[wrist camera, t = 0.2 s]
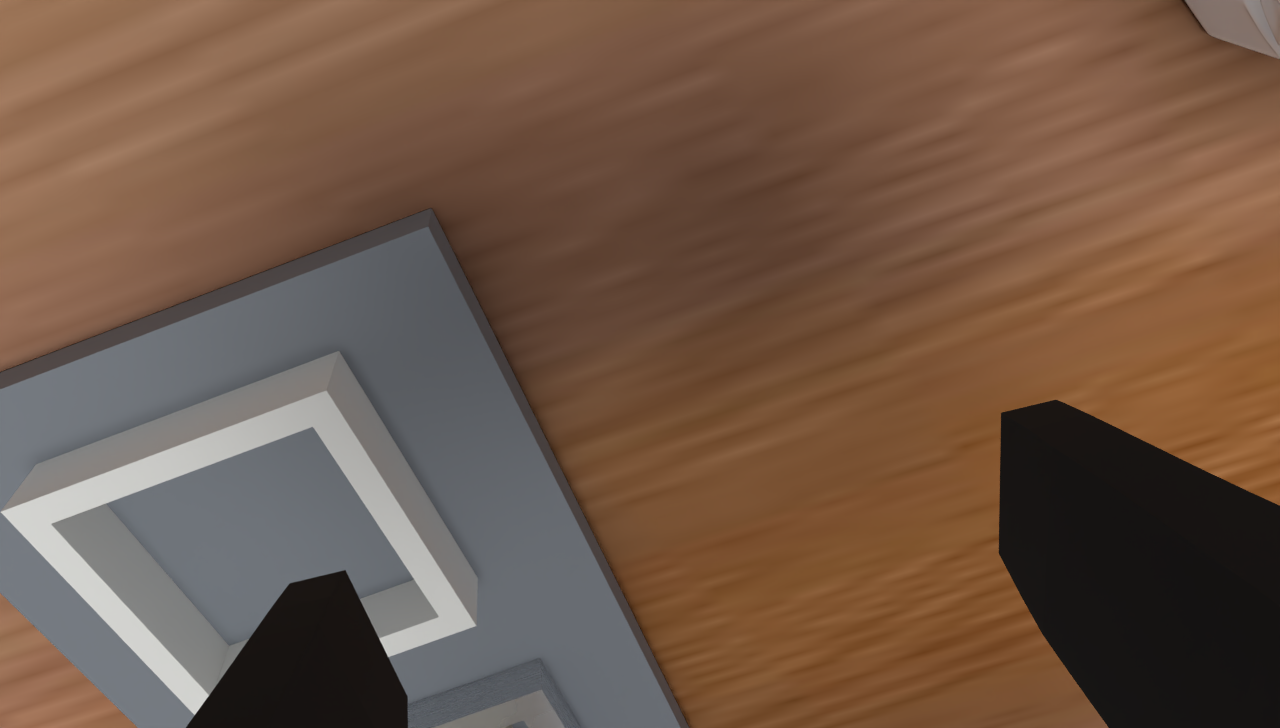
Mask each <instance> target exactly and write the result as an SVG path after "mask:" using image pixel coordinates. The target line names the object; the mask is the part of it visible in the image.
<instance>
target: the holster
mask: <svg viewBox="0 0 1280 728" xmlns="http://www.w3.org/2000/svg"><path fill="white" fill-rule="evenodd" d="M523 720H524V722H525V723H526V725H527V726H528V728H582V727H581V726H580V724H579V722H578V721H577V719H576V717H575V716H574V714H573V712H572V711H571V709H570V707H569V706H568V704H567V702H566V701H565V699H564V697H563V696H562V694H561V692H560V690H559V689H558V687H557V685H556V684H555V682H554V680H553V679H552V677H551V675H550V674H549V672H548V670H547V669H546V667H545V665H544V664H543V662H542V660H541V659H540V658H538V659H535V660H532V661H529V662H527V663H524V664H521V665H518V666H515V667H512V668H510V669H507V670H504V671H501V672H498V673H495V674H492V675H490V676H487V677H484V678H481V679H478V680H475V681H473V682H470V683H467V684H464V685H461V686H458V687H455V688H453V689H450V690H447V691H444V692H441V693H438V694H435V695H433V696H430V697H427V698H424V699H421V700H418V701H416V702H413V703H410V704H408V728H503V727H506V726H509V725H512V724H514V723H517V722H520V721H523Z"/></svg>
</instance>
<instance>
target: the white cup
mask: <svg viewBox="0 0 1280 728" xmlns="http://www.w3.org/2000/svg"><path fill="white" fill-rule="evenodd" d="M1184 1H1185V2H1186V3H1187V5H1188V6H1189V8H1190V9H1191V11H1192V12H1193V13H1194V15H1195V16H1196V18H1197V19H1198V21H1199V22H1200V24H1201V25H1202V26H1203V28H1204V29H1205V31H1206V32H1207V33H1208V34H1209V35H1210V36H1212V37H1215V38H1217V39H1220V40H1223V41H1226V42H1229V43H1232V44H1235V45H1238V46H1241V47H1244V48H1247V49H1250V50H1253V51H1256V52H1259V53H1262V54H1265V55H1268V56H1271V57H1273V58H1276V59H1279V60H1280V0H1184Z"/></svg>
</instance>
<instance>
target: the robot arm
mask: <svg viewBox="0 0 1280 728" xmlns="http://www.w3.org/2000/svg"><path fill="white" fill-rule="evenodd" d="M999 554H1000V556H1001V558H1002V560H1003V562H1004V564H1005V566H1006V568H1007V570H1008V572H1009V573H1010V575H1011V577H1012V579H1013V581H1014V583H1015V585H1016V587H1017V589H1018V591H1019V593H1020V594H1021V596H1022V598H1023V600H1024V602H1025V604H1026V605H1027V607H1028V609H1029V611H1030V613H1031V614H1032V616H1033V618H1034V620H1035V621H1036V623H1037V625H1038V627H1039V629H1040V630H1041V632H1042V634H1043V635H1044V637H1045V638H1046V640H1047V641H1048V643H1049V644H1050V646H1051V647H1052V648H1053V650H1054V651H1055V653H1056V654H1057V656H1058V657H1059V658H1060V660H1061V661H1062V663H1063V664H1064V665H1065V667H1066V668H1067V670H1068V671H1069V673H1070V674H1071V675H1072V677H1073V678H1074V680H1075V681H1076V682H1077V684H1078V685H1079V687H1080V688H1081V689H1082V691H1083V692H1084V694H1085V695H1086V696H1087V698H1088V699H1089V701H1090V702H1091V703H1092V705H1093V706H1094V708H1095V709H1096V710H1097V712H1098V713H1099V715H1100V716H1101V717H1102V719H1103V720H1104V721H1105V723H1106V724H1107V726H1108V727H1109V728H1280V506H1279V505H1277V504H1275V503H1272V502H1270V501H1268V500H1266V499H1264V498H1262V497H1259V496H1257V495H1255V494H1253V493H1251V492H1248V491H1246V490H1244V489H1242V488H1240V487H1238V486H1236V485H1234V484H1231V483H1229V482H1227V481H1225V480H1223V479H1221V478H1219V477H1217V476H1215V475H1212V474H1210V473H1208V472H1206V471H1204V470H1202V469H1200V468H1198V467H1196V466H1194V465H1192V464H1190V463H1188V462H1185V461H1183V460H1181V459H1179V458H1177V457H1175V456H1173V455H1171V454H1169V453H1167V452H1165V451H1163V450H1161V449H1159V448H1157V447H1155V446H1153V445H1151V444H1149V443H1147V442H1145V441H1143V440H1141V439H1138V438H1136V437H1134V436H1132V435H1130V434H1128V433H1126V432H1124V431H1122V430H1120V429H1118V428H1116V427H1114V426H1112V425H1110V424H1108V423H1106V422H1104V421H1102V420H1100V419H1097V418H1095V417H1093V416H1091V415H1089V414H1087V413H1085V412H1083V411H1081V410H1078V409H1076V408H1074V407H1072V406H1069V405H1067V404H1065V403H1063V402H1060V401H1058V400H1053V401H1049V402H1044V403H1040V404H1036V405H1032V406H1028V407H1024V408H1019V409H1015V410H1011V411H1007V412H1003V413H1001V457H1000V517H999ZM186 728H408V696H407V694H406V692H405V690H404V688H403V686H402V684H401V682H400V680H399V678H398V676H397V674H396V672H395V670H394V668H393V666H392V664H391V662H390V660H389V658H388V656H387V654H386V651H385V649H384V647H383V645H382V643H381V641H380V639H379V637H378V635H377V633H376V631H375V629H374V627H373V625H372V623H371V621H370V619H369V617H368V615H367V613H366V611H365V609H364V607H363V605H362V603H361V601H360V599H359V597H358V595H357V592H356V590H355V588H354V586H353V584H352V582H351V580H350V578H349V576H348V574H347V572H346V570H343V571H339V572H335V573H331V574H327V575H322V576H318V577H314V578H310V579H306V580H301V581H297V582H293V583H289V585H288V586H287V587H286V589H285V590H284V591H283V593H282V594H281V595H280V597H279V598H278V599H277V601H276V602H275V603H274V605H273V606H272V607H271V609H270V610H269V612H268V613H267V614H266V616H265V617H264V619H263V620H262V621H261V623H260V624H259V626H258V627H257V628H256V630H255V631H254V633H253V634H252V636H251V637H250V638H249V640H248V641H247V643H246V644H245V645H244V647H243V648H242V650H241V651H240V653H239V654H238V655H237V657H236V658H235V660H234V661H233V663H232V664H231V665H230V667H229V668H228V670H227V671H226V672H225V674H224V675H223V677H222V678H221V680H220V681H219V682H218V684H217V685H216V687H215V688H214V689H213V691H212V692H211V693H210V695H209V696H208V698H207V699H206V700H205V702H204V703H203V704H202V706H201V707H200V709H199V710H198V711H197V713H196V714H195V715H194V717H193V718H192V720H191V721H190V722H189V724H188V725H187V726H186Z"/></svg>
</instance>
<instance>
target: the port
mask: <svg viewBox="0 0 1280 728" xmlns="http://www.w3.org/2000/svg"><path fill="white" fill-rule="evenodd" d="M311 427H313V428H314V429H315V431H316V432H317V434H318V435H319V437H320V438H321V440H322V441H323V443H324V444H325V446H326V447H327V449H328V450H329V452H330V453H331V455H332V456H333V458H334V459H335V461H336V462H337V464H338V465H339V467H340V468H341V470H342V471H343V473H344V474H345V476H346V477H347V479H348V480H349V482H350V483H351V485H352V486H353V488H354V489H355V491H356V492H357V494H358V495H359V497H360V498H361V500H362V501H363V503H364V504H365V506H366V507H367V509H368V510H369V512H370V513H371V515H372V516H373V518H374V520H375V521H376V523H377V524H378V526H379V527H380V529H381V530H382V532H383V533H384V535H385V536H386V538H387V539H388V541H389V542H390V544H391V545H392V547H393V548H394V550H395V551H396V553H397V554H398V556H399V557H400V559H401V560H402V562H403V563H404V565H405V566H406V568H407V569H408V571H409V572H410V574H411V575H412V577H413V578H414V580H411V581H409V582H406V583H403V584H400V585H398V586H395V587H392V588H389V589H386V590H384V591H381V592H378V593H375V594H372V595H370V596H367V597H364V598H361V599H360V601H361V603H362V605H363V607H364V609H365V611H366V613H367V615H368V617H369V619H370V621H371V623H372V625H373V627H374V629H375V631H376V633H377V635H378V637H379V639H380V641H381V643H382V645H383V647H384V649H385V651H386V654H387V656H388V657H390V656H393V655H396V654H399V653H401V652H404V651H407V650H410V649H413V648H415V647H418V646H421V645H424V644H427V643H430V642H432V641H435V640H438V639H441V638H444V637H447V636H449V635H452V634H455V633H458V632H461V631H463V630H466V629H469V628H472V627H475V626H476V623H477V590H478V578H477V576H476V574H475V573H474V571H473V569H472V568H471V566H470V564H469V563H468V561H467V560H466V558H465V556H464V555H463V553H462V551H461V550H460V548H459V546H458V545H457V543H456V542H455V540H454V538H453V537H452V535H451V533H450V532H449V530H448V528H447V527H446V525H445V524H444V522H443V520H442V519H441V517H440V515H439V514H438V512H437V510H436V509H435V507H434V505H433V504H432V502H431V501H430V499H429V497H428V496H427V494H426V492H425V491H424V489H423V487H422V486H421V484H420V483H419V481H418V479H417V478H416V476H415V474H414V473H413V471H412V469H411V468H410V466H409V465H408V463H407V461H406V460H405V458H404V456H403V455H402V453H401V451H400V450H399V448H398V446H397V445H396V443H395V442H394V440H393V438H392V437H391V435H390V433H389V432H388V430H387V428H386V427H385V425H384V424H383V422H382V420H381V419H380V417H379V415H378V414H377V412H376V410H375V409H374V407H373V406H372V404H371V402H370V401H369V399H368V397H367V396H366V394H365V392H364V391H363V389H362V387H361V386H360V384H359V383H358V381H357V379H356V378H355V376H354V374H353V373H352V371H351V369H350V368H349V366H348V365H347V363H346V361H345V360H344V358H343V356H342V355H341V353H340V351H337V352H334V353H332V354H329V355H326V356H324V357H321V358H318V359H316V360H313V361H310V362H308V363H305V364H302V365H300V366H297V367H294V368H292V369H289V370H286V371H284V372H281V373H278V374H276V375H273V376H270V377H268V378H265V379H262V380H260V381H257V382H254V383H252V384H249V385H246V386H244V387H241V388H238V389H236V390H233V391H230V392H228V393H225V394H222V395H220V396H217V397H214V398H212V399H209V400H206V401H204V402H201V403H198V404H196V405H193V406H190V407H188V408H185V409H182V410H180V411H177V412H174V413H172V414H169V415H166V416H164V417H161V418H158V419H156V420H153V421H150V422H148V423H145V424H142V425H140V426H137V427H134V428H132V429H129V430H126V431H124V432H121V433H118V434H116V435H113V436H110V437H108V438H105V439H102V440H100V441H97V442H94V443H92V444H89V445H86V446H84V447H81V448H78V449H76V450H73V451H70V452H68V453H65V454H62V455H60V456H57V457H54V458H52V459H49V460H46V461H44V462H41V463H38V464H36V465H35V466H34V468H33V469H32V470H31V472H30V473H29V474H28V476H27V477H26V478H25V480H24V481H23V482H22V484H21V485H20V486H19V488H18V489H17V490H16V492H15V493H14V494H13V496H12V497H11V498H10V500H9V501H8V502H7V504H6V505H5V506H4V508H3V509H2V510H1V513H2V514H3V515H4V516H5V517H6V518H7V519H8V520H9V521H10V522H11V524H12V525H13V526H14V527H15V528H16V529H17V530H18V531H19V532H20V533H21V534H22V535H23V536H24V537H25V538H26V539H27V540H28V541H29V542H30V543H31V544H32V545H33V547H34V548H35V549H36V550H37V551H38V552H39V553H40V554H41V555H42V556H43V557H44V558H45V559H46V560H47V561H48V562H49V563H50V564H51V565H52V566H53V567H54V569H55V570H56V571H57V572H58V573H59V574H60V575H61V576H62V577H63V578H64V579H65V580H66V581H67V582H68V583H69V584H70V585H71V586H72V587H73V588H74V589H75V591H76V592H77V593H78V594H79V595H80V596H81V597H82V598H83V599H84V600H85V601H86V602H87V603H88V604H89V605H90V606H91V607H92V608H93V609H94V610H95V611H96V612H97V614H98V615H99V616H100V617H101V618H102V619H103V620H104V621H105V622H106V623H107V624H108V625H109V626H110V627H111V628H112V629H113V630H114V631H115V632H116V633H117V634H118V636H119V637H120V638H121V639H122V640H123V641H124V642H125V643H126V644H127V645H128V646H129V647H130V648H131V649H132V650H133V651H134V652H135V653H136V654H137V655H138V656H139V657H140V659H141V660H142V661H143V662H144V663H145V664H146V665H147V666H148V667H149V668H150V669H151V670H152V671H153V672H154V673H155V674H156V675H157V676H158V677H159V678H160V679H161V681H162V682H163V683H164V684H165V685H166V686H167V687H168V688H169V689H170V690H171V691H172V692H173V693H174V694H175V695H176V696H177V697H178V698H179V699H180V700H181V701H182V703H183V704H184V705H185V706H186V707H187V708H188V709H189V710H190V711H191V712H192V713H193V714H194V715H195V714H196V713H197V711H198V710H199V709H200V707H201V706H202V704H203V703H204V702H205V700H206V699H207V698H208V696H209V695H210V693H211V692H212V691H213V689H214V688H215V687H216V685H217V684H218V682H219V681H220V680H221V678H222V677H223V675H224V674H225V672H226V671H227V670H228V668H229V667H230V665H231V664H232V663H233V661H234V660H235V658H236V657H237V655H238V654H239V653H240V651H241V650H242V648H243V647H244V645H245V644H246V643H247V641H248V640H249V639H247V640H244V641H241V642H239V643H236V644H233V645H230V646H229V645H228V644H227V643H226V642H225V641H224V639H223V638H222V637H221V636H220V635H219V634H218V632H217V631H216V630H215V629H214V628H213V627H212V626H211V624H210V623H209V622H208V621H207V620H206V619H205V617H204V616H203V615H202V614H201V613H200V612H199V611H198V609H197V608H196V607H195V606H194V605H193V604H192V602H191V601H190V600H189V599H188V598H187V597H186V596H185V594H184V593H183V592H182V591H181V590H180V589H179V587H178V586H177V585H176V584H175V583H174V582H173V581H172V579H171V578H170V577H169V576H168V575H167V574H166V572H165V571H164V570H163V569H162V568H161V567H160V566H159V564H158V563H157V562H156V561H155V560H154V559H153V557H152V556H151V555H150V554H149V553H148V552H147V550H146V549H145V548H144V547H143V546H142V545H141V544H140V542H139V541H138V540H137V539H136V538H135V537H134V535H133V534H132V533H131V532H130V531H129V530H128V529H127V527H126V526H125V525H124V524H123V523H122V522H121V520H120V519H119V518H118V517H117V516H116V515H115V514H114V512H113V511H112V510H111V509H110V508H109V507H108V505H107V504H106V503H109V502H111V501H114V500H117V499H119V498H122V497H125V496H127V495H130V494H133V493H135V492H138V491H141V490H144V489H146V488H149V487H152V486H154V485H157V484H160V483H162V482H165V481H168V480H171V479H173V478H176V477H179V476H181V475H184V474H187V473H189V472H192V471H195V470H197V469H200V468H203V467H206V466H208V465H211V464H214V463H216V462H219V461H222V460H224V459H227V458H230V457H233V456H235V455H238V454H241V453H243V452H246V451H249V450H251V449H254V448H257V447H260V446H262V445H265V444H268V443H270V442H273V441H276V440H278V439H281V438H284V437H286V436H289V435H292V434H295V433H297V432H300V431H303V430H305V429H308V428H311Z"/></svg>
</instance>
